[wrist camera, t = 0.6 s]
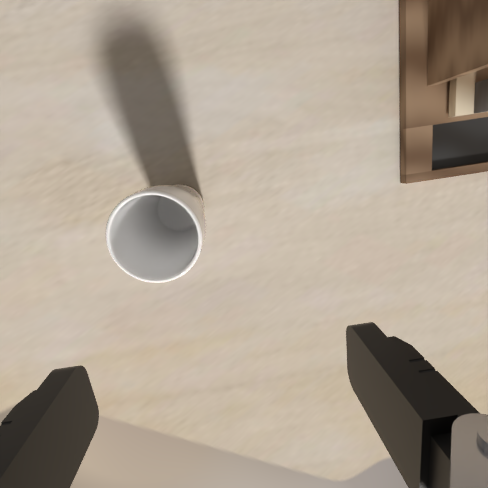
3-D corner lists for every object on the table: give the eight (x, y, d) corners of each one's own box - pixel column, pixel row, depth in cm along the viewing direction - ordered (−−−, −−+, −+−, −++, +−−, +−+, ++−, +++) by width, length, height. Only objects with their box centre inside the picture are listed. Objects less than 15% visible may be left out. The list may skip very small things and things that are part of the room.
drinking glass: (141, 218, 36) (87, 258, 21) (167, 166, 35) (128, 170, 20) (194, 245, 37) (176, 299, 23) (221, 195, 36) (220, 219, 21)
